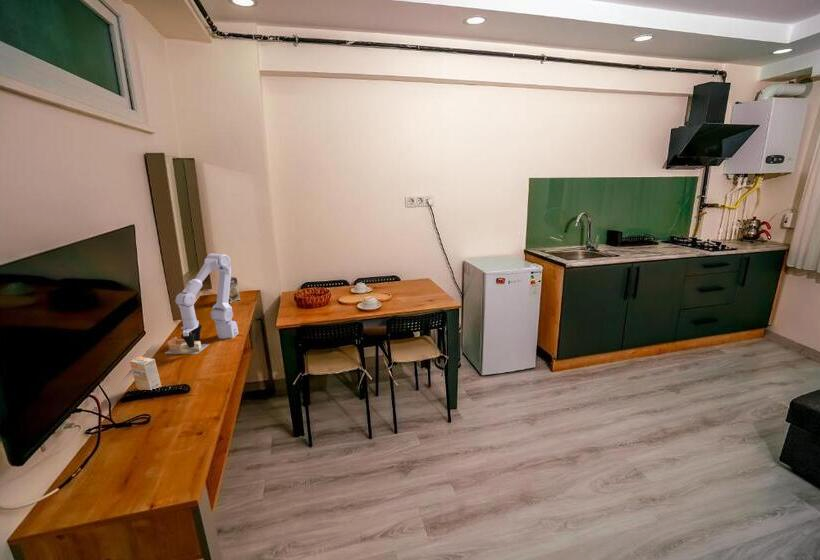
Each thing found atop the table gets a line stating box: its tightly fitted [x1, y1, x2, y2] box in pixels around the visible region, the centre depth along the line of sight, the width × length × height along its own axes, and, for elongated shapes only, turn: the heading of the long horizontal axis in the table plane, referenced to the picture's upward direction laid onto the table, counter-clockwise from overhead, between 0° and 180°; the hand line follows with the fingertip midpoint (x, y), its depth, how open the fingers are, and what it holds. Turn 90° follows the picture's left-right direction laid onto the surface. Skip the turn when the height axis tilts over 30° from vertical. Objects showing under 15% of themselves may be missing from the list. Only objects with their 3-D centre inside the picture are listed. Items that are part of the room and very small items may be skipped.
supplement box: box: [129, 355, 162, 391], centre depth 149 cm, size 8×5×13 cm, turn 70°
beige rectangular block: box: [180, 340, 202, 353], centre depth 180 cm, size 8×3×4 cm, turn 101°
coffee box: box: [228, 276, 241, 304], centre depth 247 cm, size 9×6×16 cm
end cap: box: [166, 336, 185, 351], centre depth 184 cm, size 6×6×4 cm
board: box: [164, 343, 211, 355], centre depth 183 cm, size 17×10×1 cm, turn 86°
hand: (194, 343), depth 180 cm, fingers open, 7 cm apart
